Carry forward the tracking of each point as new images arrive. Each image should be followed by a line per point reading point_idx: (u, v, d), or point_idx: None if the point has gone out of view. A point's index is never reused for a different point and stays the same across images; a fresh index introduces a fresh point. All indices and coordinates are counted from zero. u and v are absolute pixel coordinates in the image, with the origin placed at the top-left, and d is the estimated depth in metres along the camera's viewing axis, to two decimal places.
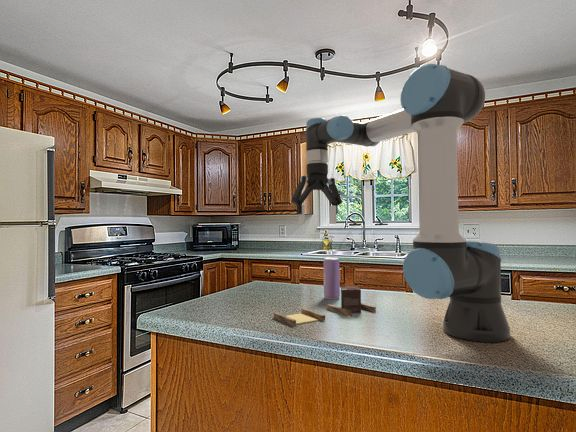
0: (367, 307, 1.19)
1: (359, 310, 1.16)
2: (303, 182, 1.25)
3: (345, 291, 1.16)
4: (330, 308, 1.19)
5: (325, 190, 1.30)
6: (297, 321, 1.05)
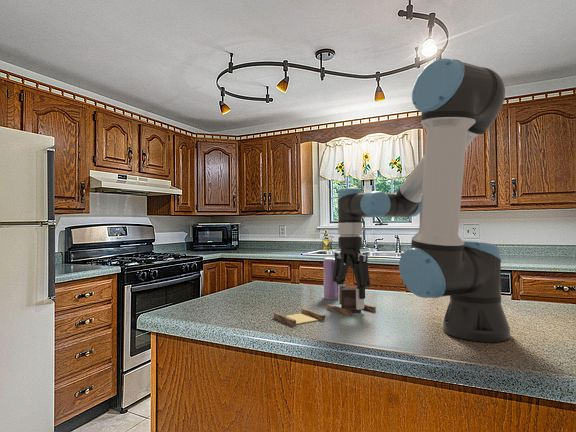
0: (367, 307, 1.19)
1: (359, 310, 1.16)
2: (335, 259, 1.24)
3: (345, 291, 1.16)
4: (330, 308, 1.19)
5: None
6: (297, 321, 1.05)
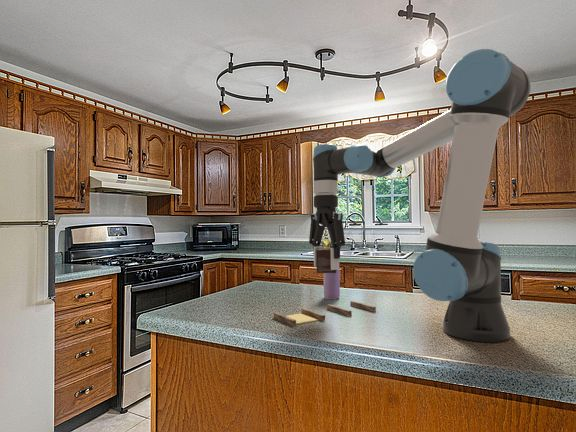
0: (367, 307, 1.19)
1: (334, 271, 1.11)
2: (311, 221, 1.19)
3: (320, 251, 1.12)
4: (330, 308, 1.19)
5: None
6: (297, 321, 1.05)
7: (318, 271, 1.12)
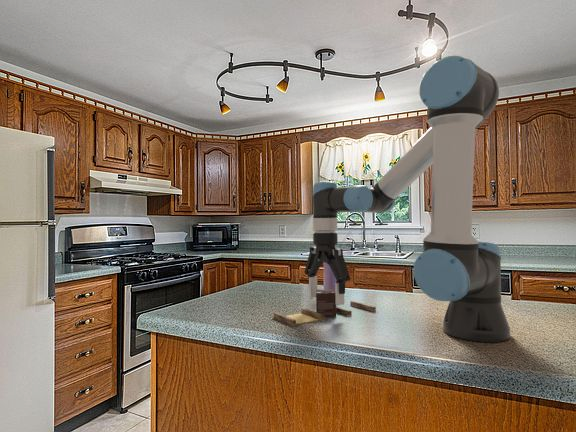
0: (367, 307, 1.19)
1: (334, 314, 1.11)
2: (310, 253, 1.19)
3: (319, 294, 1.11)
4: None
5: None
6: (297, 321, 1.05)
7: None
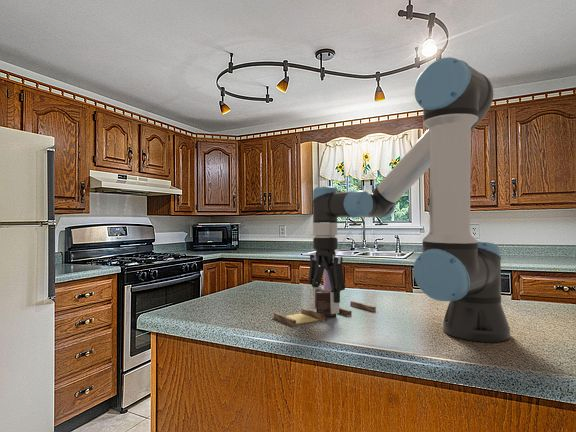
0: (367, 307, 1.19)
1: (334, 314, 1.11)
2: (311, 261, 1.19)
3: (319, 294, 1.11)
4: None
5: None
6: (297, 321, 1.05)
7: None
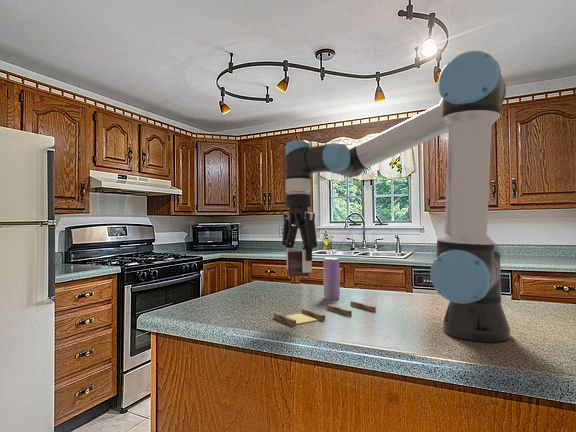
0: (367, 307, 1.19)
1: (306, 273, 1.06)
2: (284, 221, 1.14)
3: (291, 253, 1.06)
4: (330, 308, 1.19)
5: None
6: (297, 321, 1.05)
7: (290, 274, 1.06)
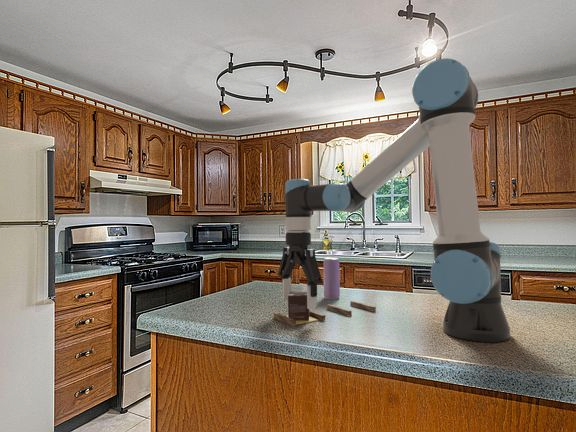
0: (367, 307, 1.19)
1: (307, 318, 1.05)
2: (283, 254, 1.14)
3: (291, 297, 1.06)
4: (330, 308, 1.19)
5: None
6: (297, 321, 1.05)
7: None
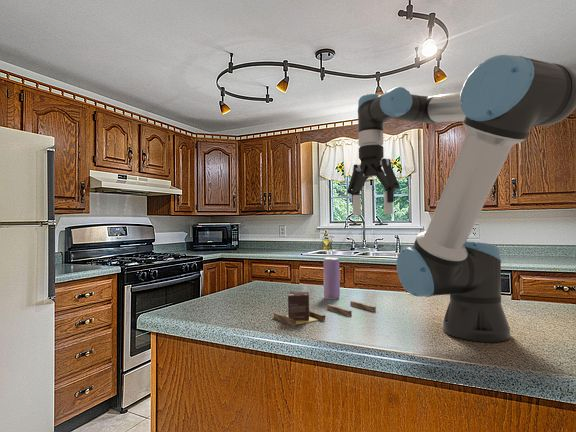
0: (367, 307, 1.19)
1: (307, 318, 1.05)
2: (353, 171, 1.19)
3: (291, 297, 1.06)
4: (330, 308, 1.19)
5: None
6: (297, 321, 1.05)
7: None
